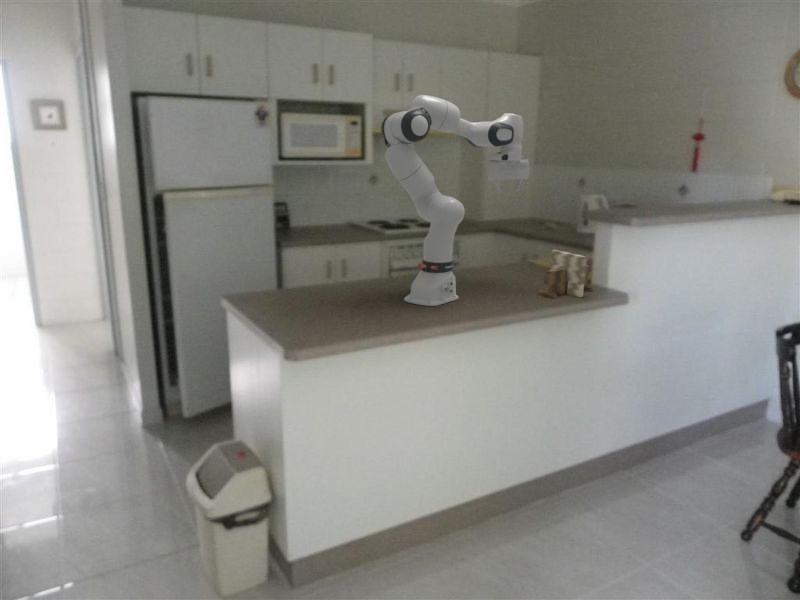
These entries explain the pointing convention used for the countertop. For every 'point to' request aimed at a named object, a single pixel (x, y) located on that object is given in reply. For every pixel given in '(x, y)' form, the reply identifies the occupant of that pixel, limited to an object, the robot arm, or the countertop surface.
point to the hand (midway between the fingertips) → (507, 191)
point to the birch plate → (571, 270)
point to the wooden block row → (559, 283)
